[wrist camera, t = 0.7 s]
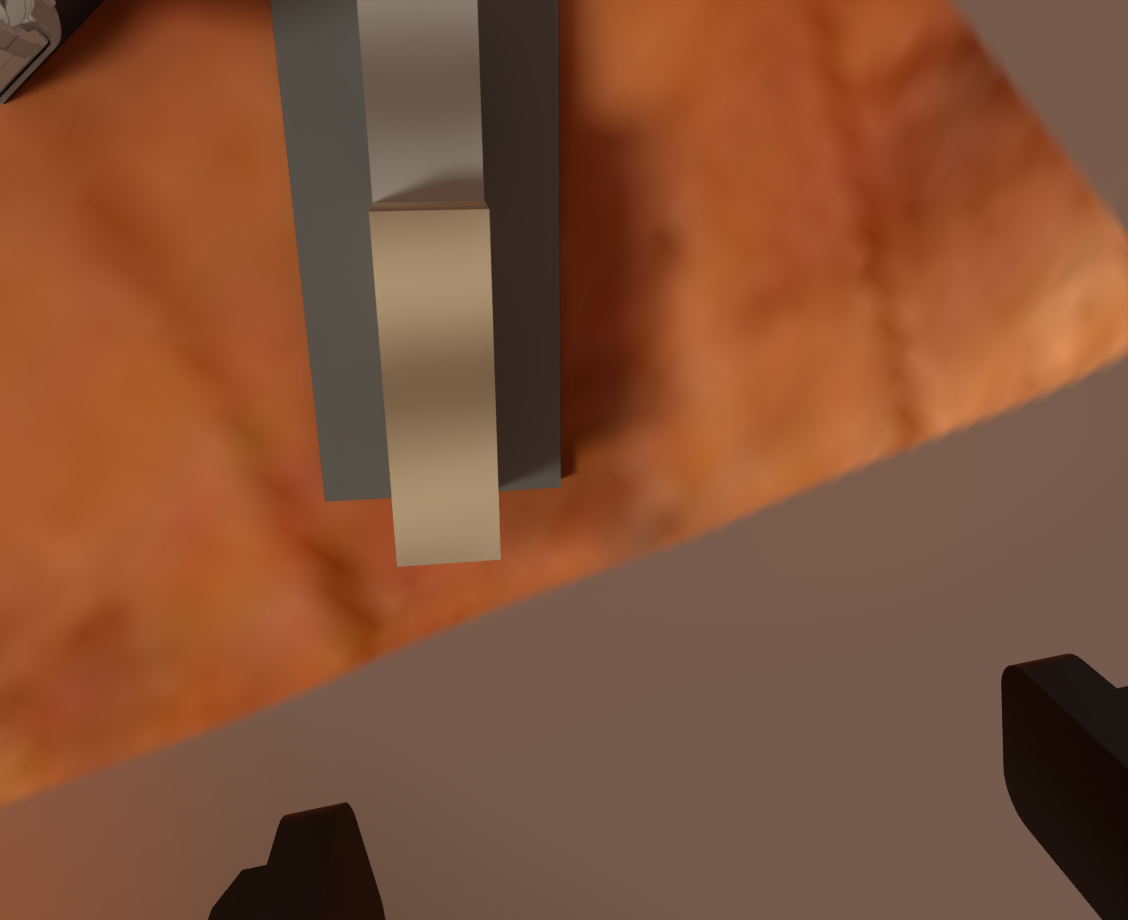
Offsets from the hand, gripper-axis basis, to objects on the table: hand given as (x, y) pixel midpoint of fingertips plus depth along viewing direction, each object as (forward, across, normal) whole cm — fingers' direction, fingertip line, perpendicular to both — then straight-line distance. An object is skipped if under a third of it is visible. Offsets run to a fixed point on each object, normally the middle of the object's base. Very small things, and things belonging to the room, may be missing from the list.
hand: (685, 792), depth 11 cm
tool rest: (+21, +3, -6) cm, 22 cm away
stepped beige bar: (+20, +3, -4) cm, 21 cm away
